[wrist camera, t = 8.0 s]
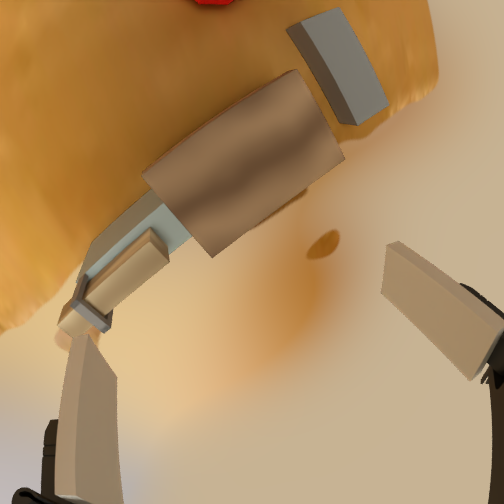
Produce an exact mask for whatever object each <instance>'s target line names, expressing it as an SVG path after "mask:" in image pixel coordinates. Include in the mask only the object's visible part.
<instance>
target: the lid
mask: <svg viewBox="0 0 504 504" xmlns="http://www.w3.org/2000/svg"><path fill="white" fill-rule="evenodd" d="M344 160H345V157H344V155H343V153H342V151H341V149H340V147H339V145H338V143H337V141H336V139H335V137H334V135H333V133H332V131H331V129H330V127H329V125H328V123H327V121H326V119H325V117H324V116H323V114H322V112H321V110H320V108H319V106H318V105H317V103H316V101H315V99H314V97H313V96H312V94H311V92H310V90H309V89H308V87H307V85H306V83H305V82H304V80H303V78H302V77H301V75H300V73H299V72H298V70H297V69H295V70H291V71H287V72H285V73H284V74H282V75H280V76H278V77H277V78H275V79H273V80H271V81H270V82H268V83H266V84H265V85H263V86H261V87H260V88H258V89H256V90H255V91H253V92H251V93H250V94H248V95H247V96H245V97H243V98H242V99H240V100H239V101H237V102H236V103H234V104H233V105H231V106H229V107H228V108H226V109H225V110H223V111H222V112H220V113H219V114H218V115H216V116H215V117H213V118H212V119H210V120H209V121H207V122H206V123H205V124H203V125H202V126H200V127H199V128H198V129H196V130H195V131H193V132H192V133H191V134H189V135H188V136H187V137H185V138H184V139H183V140H181V141H180V142H179V143H177V144H176V145H175V146H173V147H172V148H171V149H170V150H168V151H167V152H166V153H165V154H163V155H162V156H161V157H160V158H158V159H157V160H156V161H155V162H153V163H152V164H151V165H150V166H148V167H147V168H146V169H145V170H144V171H142V175H141V177H142V178H143V179H144V180H145V181H146V183H147V184H148V185H149V186H150V187H151V188H152V190H153V191H154V192H155V193H156V194H157V196H158V197H159V198H160V199H161V200H162V201H163V203H164V204H165V205H166V206H167V207H168V208H169V210H170V211H171V212H172V213H173V214H174V215H175V217H176V218H177V219H178V220H179V221H180V222H181V223H182V225H183V226H184V227H185V228H186V229H187V230H188V231H189V233H190V234H191V235H192V236H193V237H194V238H195V239H196V241H197V242H198V243H199V244H200V245H201V246H202V247H203V248H204V250H205V251H206V252H207V253H208V254H209V255H210V256H211V257H212V258H213V257H214V256H215V255H217V254H218V253H220V252H221V251H222V250H224V249H225V248H226V247H228V246H229V245H230V244H232V243H233V242H234V241H235V240H237V239H238V238H239V237H241V236H242V235H243V234H245V233H246V232H247V231H249V230H250V229H251V228H253V227H254V226H255V225H257V224H258V223H259V222H261V221H262V220H263V219H265V218H266V217H267V216H269V215H270V214H271V213H273V212H274V211H275V210H277V209H278V208H280V207H281V206H282V205H284V204H285V203H286V202H288V201H289V200H290V199H292V198H293V197H294V196H296V195H297V194H298V193H300V192H301V191H303V190H304V189H305V188H307V187H308V186H309V185H311V184H312V183H313V182H315V181H316V180H318V179H319V178H320V177H322V176H323V175H324V174H326V173H327V172H329V171H330V170H331V169H333V168H334V167H335V166H337V165H338V164H340V163H341V162H342V161H344Z"/></svg>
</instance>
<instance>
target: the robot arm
mask: <svg viewBox="0 0 504 504" xmlns="http://www.w3.org/2000/svg"><path fill="white" fill-rule="evenodd" d="M381 294H382V295H384V296H385V297H386V298H387V299H388V300H389V301H390V302H391V303H392V304H393V305H394V306H395V307H396V308H397V309H399V311H400V312H402V313H403V314H404V315H405V316H406V317H407V318H408V319H409V320H410V321H411V322H412V323H413V324H414V325H415V326H416V327H417V328H418V329H419V330H420V331H421V332H422V333H423V334H424V335H425V336H426V337H427V338H428V339H429V340H430V341H431V342H432V343H433V344H434V345H435V346H436V347H437V348H438V349H439V350H440V351H441V352H442V353H443V354H444V355H445V356H446V357H447V358H448V359H449V360H450V361H451V362H452V363H453V364H454V365H455V366H456V367H457V368H458V369H459V371H460V372H461V373H462V374H463V375H464V376H465V377H466V378H467V379H468V380H469V381H471V380H473V379H474V378H475V377H476V376H477V375H478V374H479V373H480V372H481V371H482V369H483V368H484V366H485V364H486V363H488V364H489V367H488V369H487V371H486V372H485V374H484V375H483V377H482V379H481V384H483V383H484V381H485V380H486V378H487V377H488V379H487V381H486V384H489V387H490V398H491V411H492V469H491V483H490V492H489V500H488V504H504V313H503V312H502V311H500V310H499V309H498V308H497V307H496V306H494V305H493V304H492V303H491V302H489V301H487V300H486V299H485V298H484V297H483V296H482V295H481V296H480V294H479V293H478V292H477V291H475V290H474V289H473V288H471V287H469V286H467V285H465V284H462V283H460V284H459V283H457V282H456V281H455V280H453V279H452V278H451V277H449V276H448V275H446V274H445V273H444V272H442V271H441V270H439V269H438V268H437V267H436V266H434V265H433V264H431V263H430V262H429V261H427V260H426V259H424V258H423V257H421V256H420V255H419V254H417V253H416V252H414V251H413V250H411V249H410V248H408V247H407V246H405V245H404V244H402V243H401V242H399V241H397V242H394V243H391V244H388V245H387V246H386V257H385V266H384V274H383V282H382V289H381ZM118 453H119V452H118V432H117V376H116V375H115V373H114V372H113V371H112V369H111V368H110V366H109V365H108V363H107V362H106V360H105V359H104V357H103V356H102V355H101V353H100V351H99V350H98V348H97V347H96V345H95V344H94V342H93V341H92V339H91V337H90V336H89V334H85V335H81V336H77V337H73V339H72V343H71V348H70V352H69V357H68V362H67V367H66V373H65V378H64V384H63V390H62V397H61V404H60V411H59V419H57V420H50V422H49V424H48V426H47V428H46V430H45V436H44V448H43V458H42V476H41V494H39V493H37V492H35V491H33V490H31V489H29V488H20V489H18V490H17V491H16V492H15V494H14V495H13V498H12V504H124V502H123V494H122V486H121V476H120V465H119V454H118Z"/></svg>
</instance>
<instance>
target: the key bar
mask: <svg viewBox="0 0 504 504" xmlns="http://www.w3.org/2000/svg"><path fill="white" fill-rule="evenodd" d="M169 262H170V261H169V252H168V246H167V245H166V244H165V242H164V241H163V240H162V239H161V238H160V237H159V236H158V235H157V234H156V233H155V232H154V231H153V229H152V228H151V227H149V228H148V229H147V230H146V231H145V232H143V233H142V234H141V235H140V236H139V237H138V238H136V239H135V240H134V241H133V242H132V243H131V244H129V245H128V246H127V247H126V248H125V249H124V250H123V251H122V252H120V253H119V254H118V255H117V256H116V257H115V258H114V259H113V260H111V261H110V262H109V263H108V264H107V265H106V266H105V267H104V268H103V269H102V270H101V271H100V272H98V273H97V274H96V275H95V276H94V277H93V278H92V279H91V280H90V281H89V282H88V283H87V284H86V287H85V290H84V293H83V297H82V299H83V300H84V301H85V302H86V303H87V304H88V305H90V306H91V307H92V308H93V309H94V310H95V311H97V312H98V313H99V314H100V315H102V316H103V317H104V316H105V315H106V314H107V313H109V312H110V311H111V310H112V309H113V308H114V307H116V306H117V305H118V304H119V303H120V302H122V301H123V300H124V299H125V298H126V297H128V296H129V295H130V294H131V293H132V292H134V291H135V290H136V289H137V288H138V287H140V286H141V285H142V284H143V283H144V282H145V281H147V280H148V279H149V278H151V277H152V276H153V275H154V274H155V273H157V272H158V271H159V270H160V269H162V268H163V267H164V266H165V265H167V264H168V263H169ZM71 300H72V298H71V299H70V300H69V301H68V302H67V303H66V304H65V305H64V307H63V309H62V312H61V315H60V318H59V321H58V324H57V326H58V327H59V328H60V329H62V330H63V331H64V332H65V333H67V334H68V335H69V336H70V337H72V338H73V337H77V336H81V335H83V334H84V333H85V332H87V331H88V330H89V329H90V328H91V327H92V326H93V325H92V324H91V323H90V322H88V321H87V320H86V319H85V318H84V317H82V316H81V315H80V314H79V313H78V312H76V311H75V310H74V309H73V308H72V307H70V303H71Z"/></svg>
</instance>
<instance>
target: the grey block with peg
mask: <svg viewBox="0 0 504 504" xmlns="http://www.w3.org/2000/svg"><path fill="white" fill-rule="evenodd" d="M149 227H151V228H152V229H153V231H154V232H155V233H156V234H157V235H158V236H159V237H160V238H161V239H162V240H163V241H164V242H165V244H166V245H167V246H168V252H169V254H171V253H172V252H173V251H174V250H176V249H177V248H178V247H179V246H181V245H182V244H183V243H184V242H186V241H187V240H188V239H189V238H191V237H192V235H191V234H190V233H189V231H188V230H187V229H186V228H185V227H184V226H183V225H182V223H181V222H180V221H179V220H178V219H177V218H176V217H175V215H174V214H173V213H172V212H171V211H170V210H169V208H168V207H167V206H166V205H165V204H164V203H163V201H162V200H161V199H160V198H159V197H158V196H157V194H156V193H155V192H154V191H153V190H152V189H150V190H149V191H148V192H147V193H146V194H144V195H143V196H142V197H141V198H140V199H139V200H137V201H136V202H135V203H134V204H133V205H132V206H131V207H129V208H128V209H127V210H126V211H125V212H124V213H123V214H122V215H120V216H119V217H118V218H117V219H116V220H115V221H114V222H113V223H112V224H111V225H110V226H108V227H107V228H106V229H105V230H104V231H103V232H102V233H101V234H100V235H99V236H98V237H97V238H96V239H95V240H94V241H93V242H92V243H91V245H90V248H89V250H88V252H87V255H86V257H85V260H84V262H83V265H82V267H81V270H80V272H79V275H78V277H77V280H76V283H77V286H76V288H75V291H74V294H73V297H72V300H71V303H70V307H72V308H73V309H74V310H75V311H76V312H78V313H79V314H80V315H81V316H82V317H84V318H85V319H86V320H87V321H88V322H90V323H91V324H92V325H93V326H95V327H96V328H97V329H99V330H100V331H101V332H102V333H105V332H106V331H108V330H109V329H110V328H111V323H112V315H113V309H112V310H111V311H110V312H109V313H107V314H106V315H105V316H104V317H103V316H102V315H100V314H99V313H98V312H97V311H95V310H94V309H93V308H92V307H91V306H90V305H88V304H87V303H86V302H85V301H84V300H83V299H82V297H83V293H84V290H85V287H86V284H87V283H88V282H89V281H90V280H91V279H92V278H93V277H94V276H95V275H96V274H97V273H98V272H100V271H101V270H102V269H103V268H104V267H105V266H106V265H107V264H108V263H109V262H110V261H111V260H113V259H114V258H115V257H116V256H117V255H118V254H119V253H120V252H122V251H123V250H124V249H125V248H126V247H127V246H128V245H129V244H131V243H132V242H133V241H134V240H135V239H136V238H138V237H139V236H140V235H141V234H142V233H143V232H145V231H146V230H147V229H148V228H149Z"/></svg>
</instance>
